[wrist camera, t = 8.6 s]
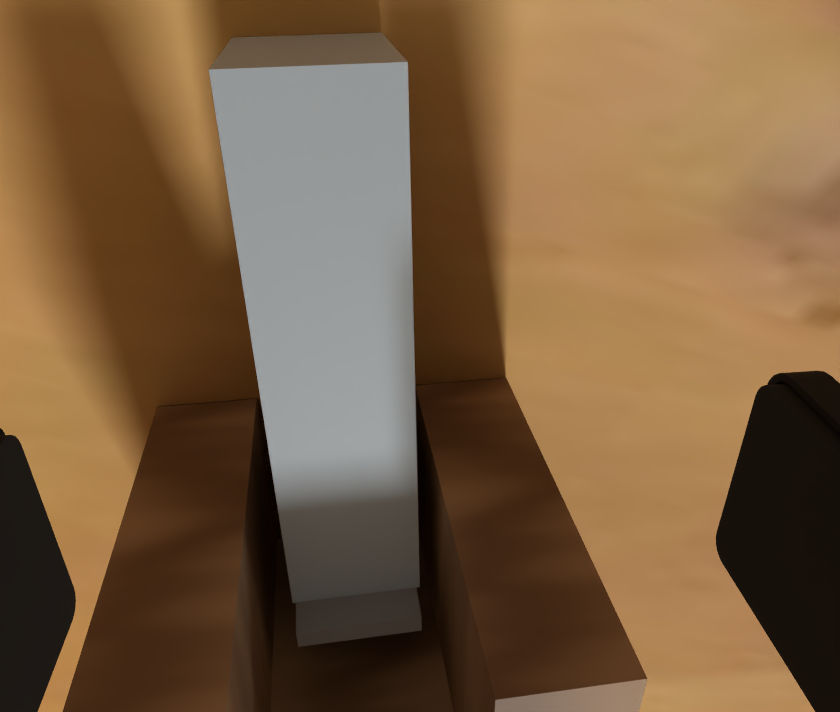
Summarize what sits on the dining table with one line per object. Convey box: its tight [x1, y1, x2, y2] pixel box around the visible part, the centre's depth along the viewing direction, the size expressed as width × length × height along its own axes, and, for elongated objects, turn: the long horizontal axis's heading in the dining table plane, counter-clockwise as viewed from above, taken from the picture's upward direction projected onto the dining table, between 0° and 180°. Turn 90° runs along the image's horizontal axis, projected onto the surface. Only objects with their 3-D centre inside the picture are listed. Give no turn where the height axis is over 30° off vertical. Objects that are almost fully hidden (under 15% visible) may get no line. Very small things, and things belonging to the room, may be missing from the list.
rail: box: [209, 32, 422, 647], centre depth 18 cm, size 4×15×6 cm, turn 1°
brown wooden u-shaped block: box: [63, 378, 647, 712], centre depth 20 cm, size 11×8×11 cm
